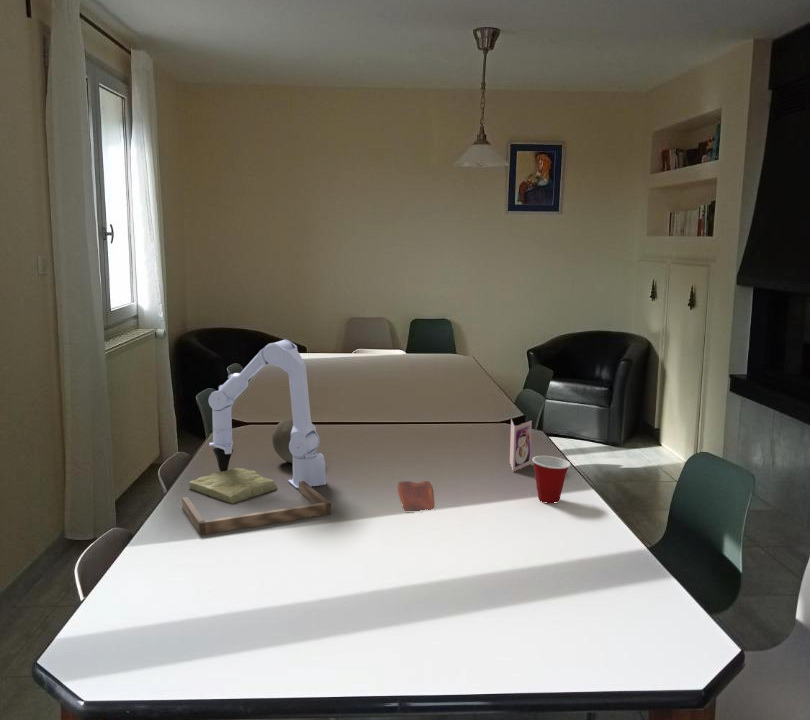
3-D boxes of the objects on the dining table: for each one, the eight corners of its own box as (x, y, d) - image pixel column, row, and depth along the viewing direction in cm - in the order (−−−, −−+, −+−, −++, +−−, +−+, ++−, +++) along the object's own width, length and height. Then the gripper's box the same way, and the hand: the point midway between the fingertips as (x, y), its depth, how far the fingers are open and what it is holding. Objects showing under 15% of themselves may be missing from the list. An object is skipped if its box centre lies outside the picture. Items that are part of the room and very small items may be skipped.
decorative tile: (231, 505, 217) (230, 493, 217) (188, 490, 230) (187, 478, 229) (281, 489, 231) (281, 477, 231) (238, 476, 244) (238, 465, 244)
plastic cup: (569, 508, 216) (571, 466, 215) (529, 505, 219) (531, 464, 217) (569, 496, 227) (570, 456, 225) (531, 493, 229) (532, 453, 227)
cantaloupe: (319, 458, 263) (318, 414, 260) (310, 470, 249) (309, 424, 247) (278, 456, 264) (277, 413, 262) (266, 468, 250) (266, 423, 248)
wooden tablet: (397, 484, 238) (397, 479, 238) (430, 484, 238) (430, 479, 238) (399, 515, 212) (399, 509, 211) (436, 515, 212) (436, 509, 212)
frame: (303, 490, 229) (303, 480, 228) (330, 513, 210) (330, 503, 210) (182, 508, 213) (182, 497, 213) (200, 535, 194) (199, 523, 194)
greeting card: (515, 472, 249) (517, 427, 246) (495, 468, 253) (496, 423, 251) (532, 464, 258) (534, 420, 255) (512, 460, 262) (514, 417, 260)
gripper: (203, 424, 245) (205, 466, 247) (214, 435, 232) (216, 478, 234) (226, 422, 248) (227, 463, 250) (238, 432, 236) (239, 475, 238)
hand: (223, 470), depth 243 cm, fingers closed
